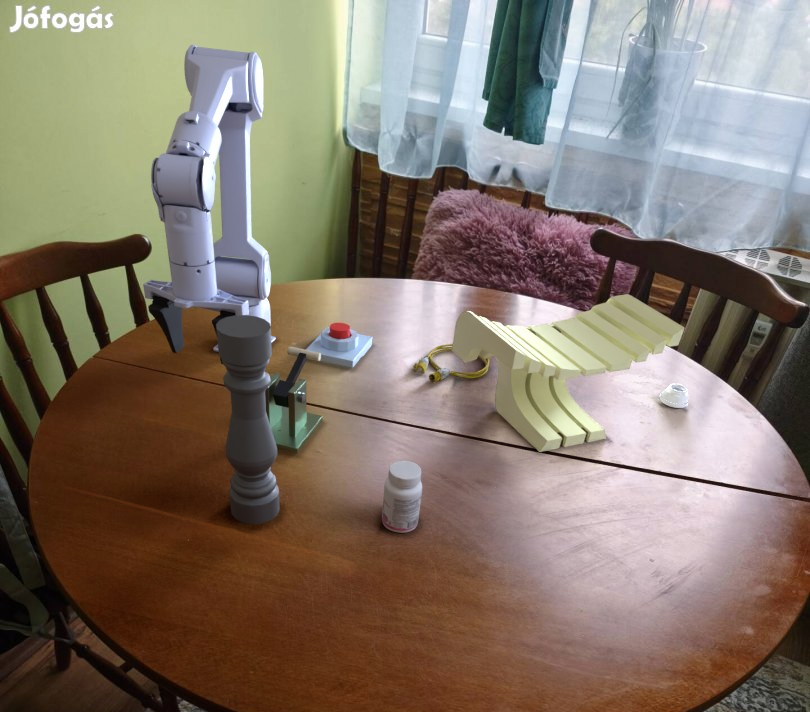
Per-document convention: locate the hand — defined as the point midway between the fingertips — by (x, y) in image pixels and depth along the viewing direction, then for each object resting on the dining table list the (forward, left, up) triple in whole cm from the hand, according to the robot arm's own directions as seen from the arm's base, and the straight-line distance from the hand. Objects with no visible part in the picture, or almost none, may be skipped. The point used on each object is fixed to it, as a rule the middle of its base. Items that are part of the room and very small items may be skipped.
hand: (202, 355), depth 99 cm
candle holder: (+18, +16, -10) cm, 26 cm away
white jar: (-38, +70, -10) cm, 80 cm away
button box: (-30, +10, -10) cm, 33 cm away
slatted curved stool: (-22, +49, -10) cm, 55 cm away
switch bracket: (-1, +12, -10) cm, 16 cm away
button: (-30, +10, -7) cm, 32 cm away
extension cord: (-34, +30, -10) cm, 47 cm away
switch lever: (-5, +12, -3) cm, 13 cm away
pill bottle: (+13, +34, -10) cm, 38 cm away
